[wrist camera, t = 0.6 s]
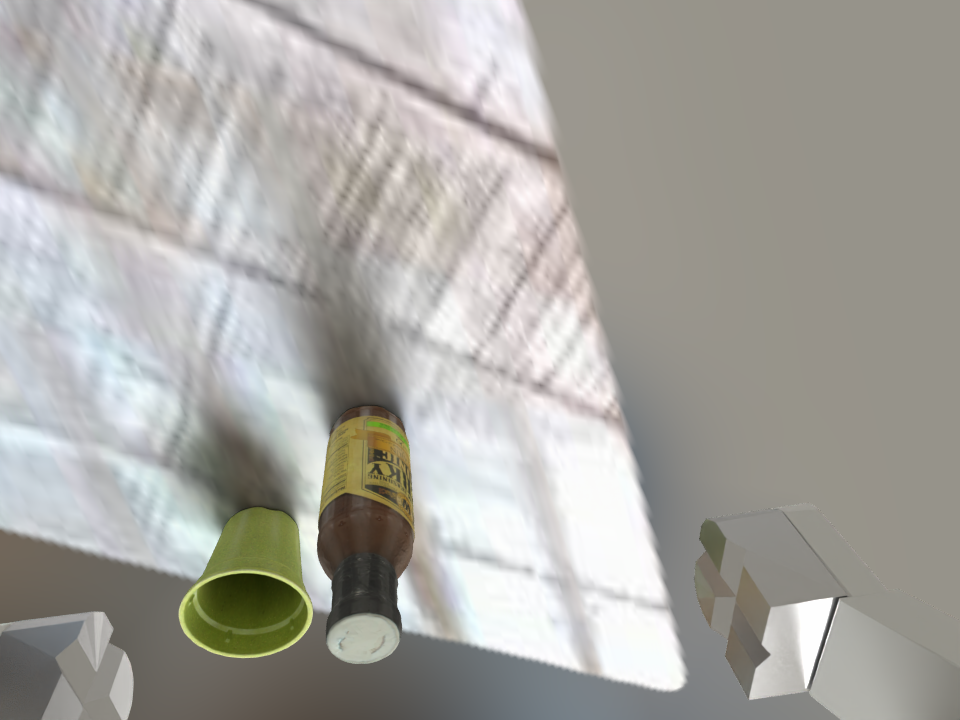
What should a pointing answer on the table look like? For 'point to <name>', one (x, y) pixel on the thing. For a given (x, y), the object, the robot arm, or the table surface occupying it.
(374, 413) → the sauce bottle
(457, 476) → the table surface
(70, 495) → the table surface
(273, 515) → the plant pot
